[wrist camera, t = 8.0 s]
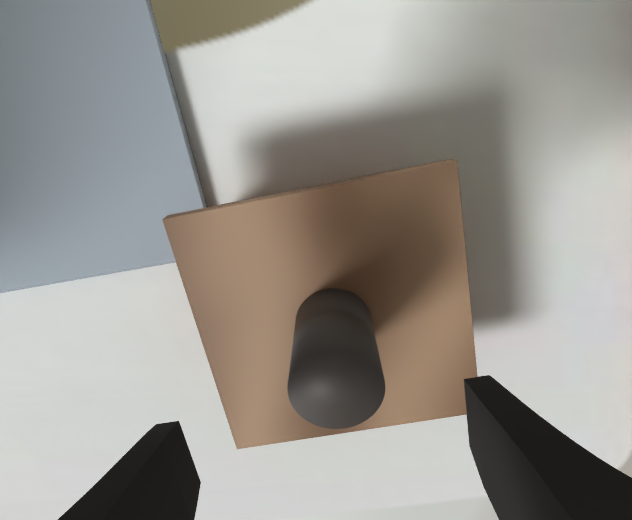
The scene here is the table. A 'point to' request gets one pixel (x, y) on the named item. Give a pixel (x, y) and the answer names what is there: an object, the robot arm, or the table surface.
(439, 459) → the table surface
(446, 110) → the table surface
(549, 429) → the robot arm
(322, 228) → the lid
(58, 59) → the mat
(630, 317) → the table surface
